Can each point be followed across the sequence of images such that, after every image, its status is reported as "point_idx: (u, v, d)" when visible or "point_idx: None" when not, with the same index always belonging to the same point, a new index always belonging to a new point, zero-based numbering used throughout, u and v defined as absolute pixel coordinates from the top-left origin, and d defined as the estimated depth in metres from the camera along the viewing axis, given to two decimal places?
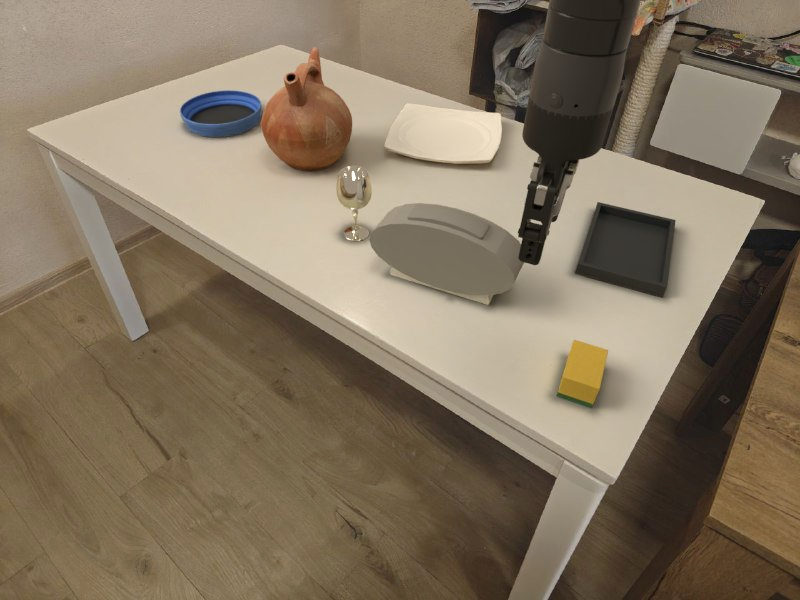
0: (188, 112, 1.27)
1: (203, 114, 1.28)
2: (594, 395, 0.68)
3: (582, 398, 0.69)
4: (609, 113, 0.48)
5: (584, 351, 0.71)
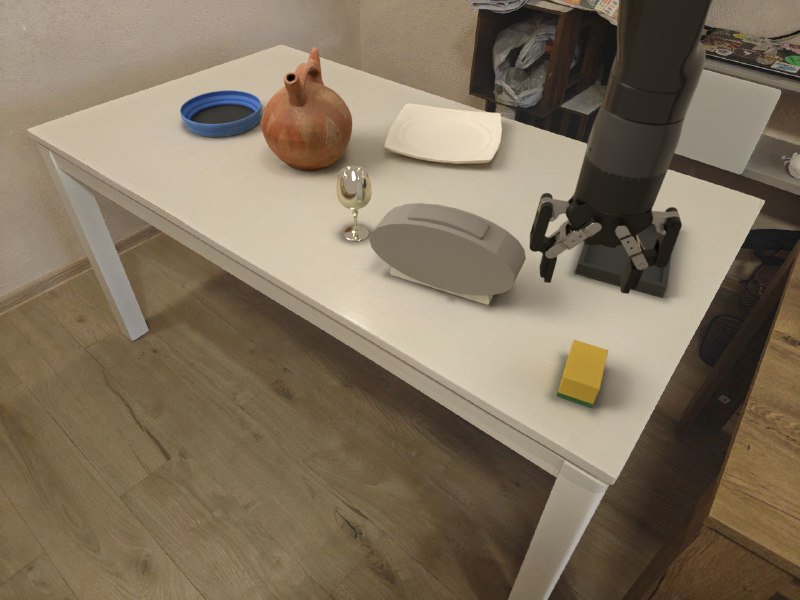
0: (188, 112, 1.27)
1: (203, 114, 1.28)
2: (594, 395, 0.68)
3: (582, 398, 0.69)
4: (618, 178, 0.49)
5: (584, 351, 0.71)
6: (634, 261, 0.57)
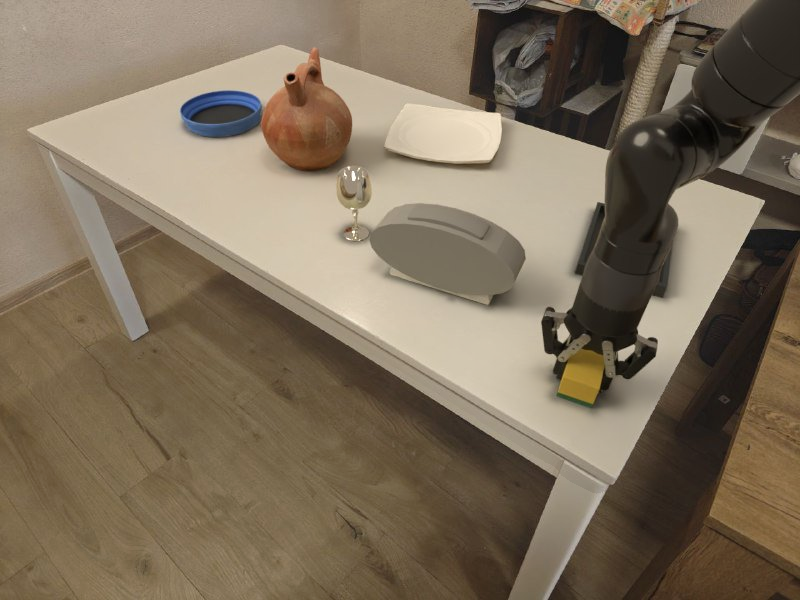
0: (188, 112, 1.27)
1: (203, 114, 1.28)
2: (594, 395, 0.68)
3: (582, 398, 0.69)
4: (600, 307, 0.59)
5: (584, 351, 0.71)
6: (604, 369, 0.68)
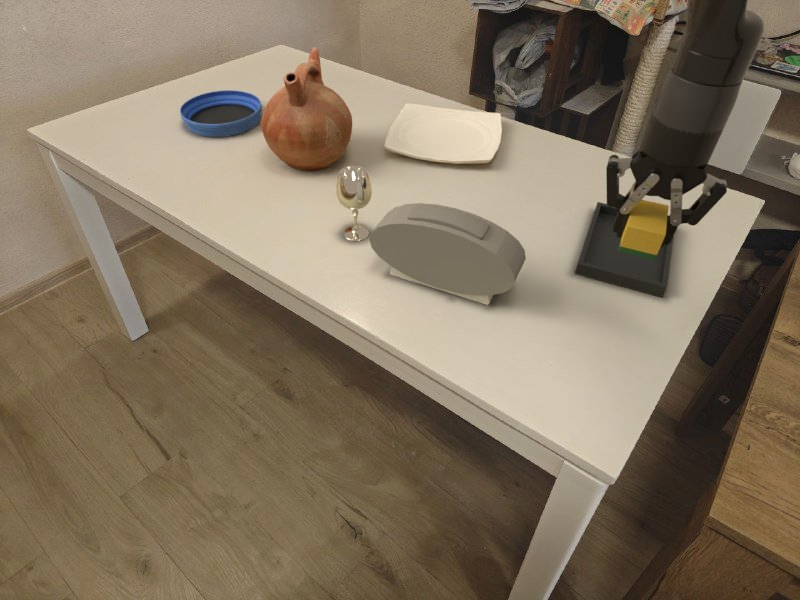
0: (188, 112, 1.27)
1: (203, 114, 1.28)
2: (659, 244, 0.67)
3: (645, 249, 0.68)
4: (676, 132, 0.58)
5: (645, 206, 0.70)
6: (669, 217, 0.67)
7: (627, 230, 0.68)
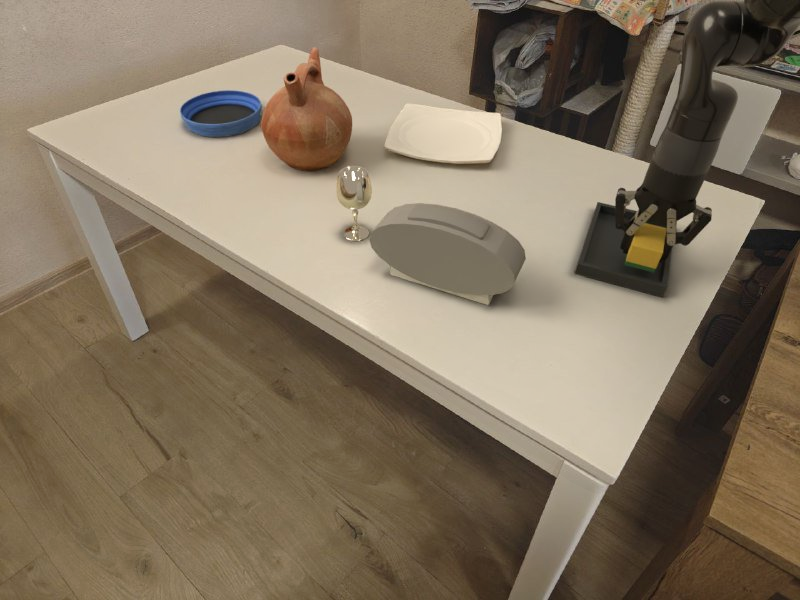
0: (188, 112, 1.27)
1: (203, 114, 1.28)
2: (657, 259, 0.83)
3: (647, 264, 0.85)
4: (670, 174, 0.74)
5: (647, 228, 0.87)
6: (666, 238, 0.83)
7: (632, 248, 0.84)
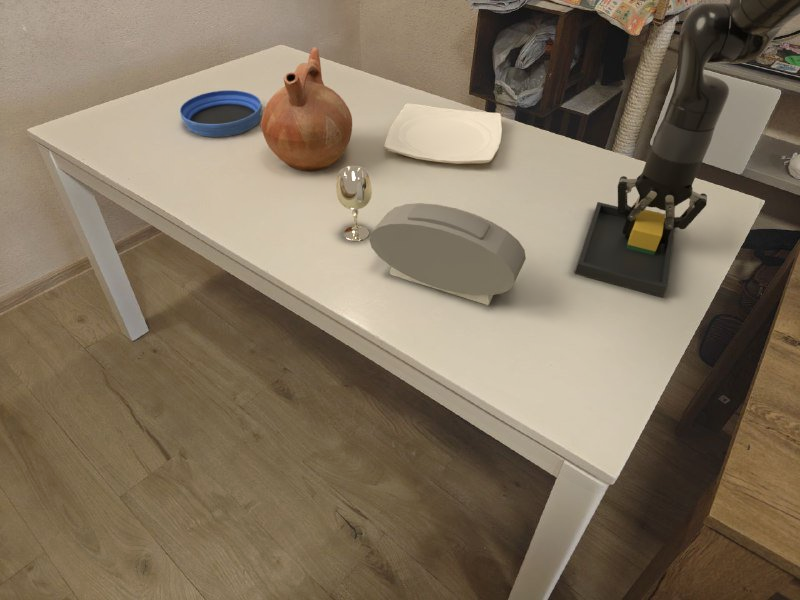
0: (188, 112, 1.27)
1: (203, 114, 1.28)
2: (657, 243, 0.90)
3: (647, 247, 0.91)
4: (668, 162, 0.81)
5: (647, 214, 0.93)
6: (664, 223, 0.90)
7: (633, 232, 0.90)
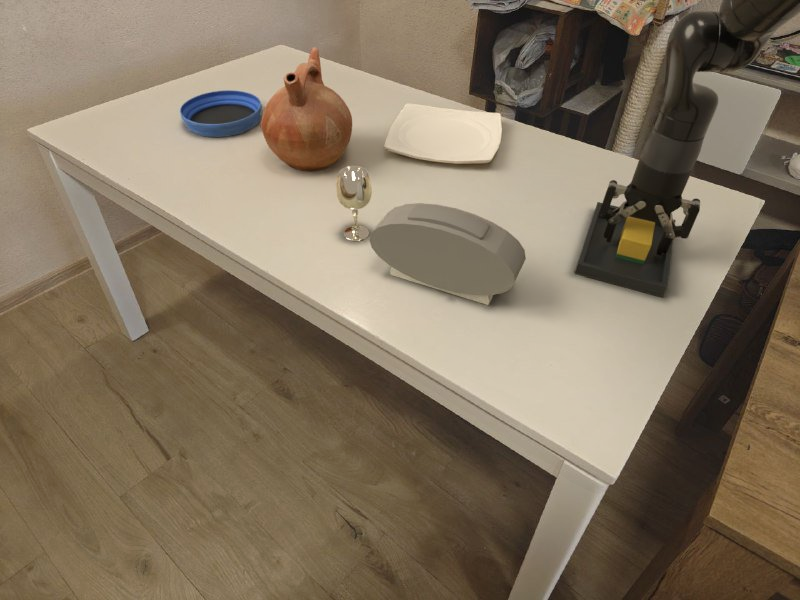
0: (188, 112, 1.27)
1: (203, 114, 1.28)
2: (646, 252, 0.88)
3: (636, 256, 0.89)
4: (656, 172, 0.79)
5: (636, 223, 0.91)
6: (666, 232, 0.87)
7: (622, 241, 0.89)
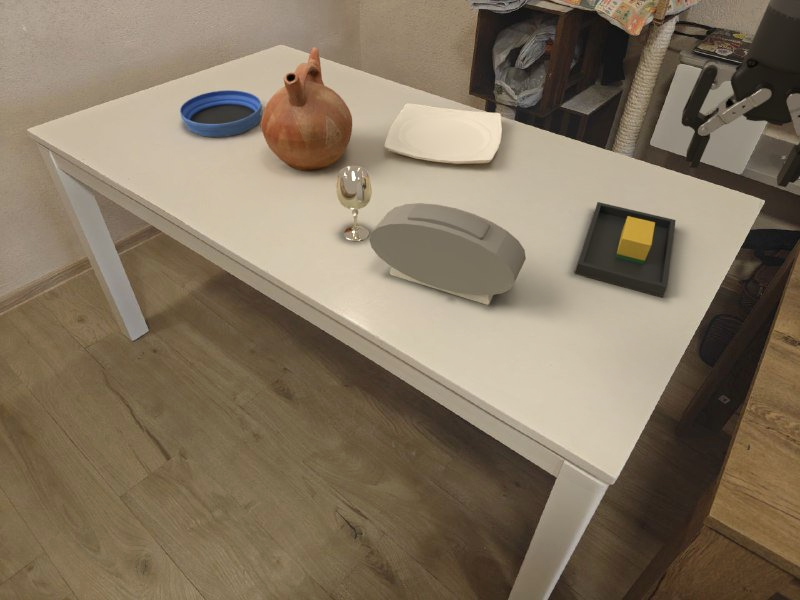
0: (188, 112, 1.27)
1: (203, 114, 1.28)
2: (646, 252, 0.88)
3: (636, 256, 0.89)
4: None
5: (636, 223, 0.91)
6: None
7: (622, 241, 0.89)
